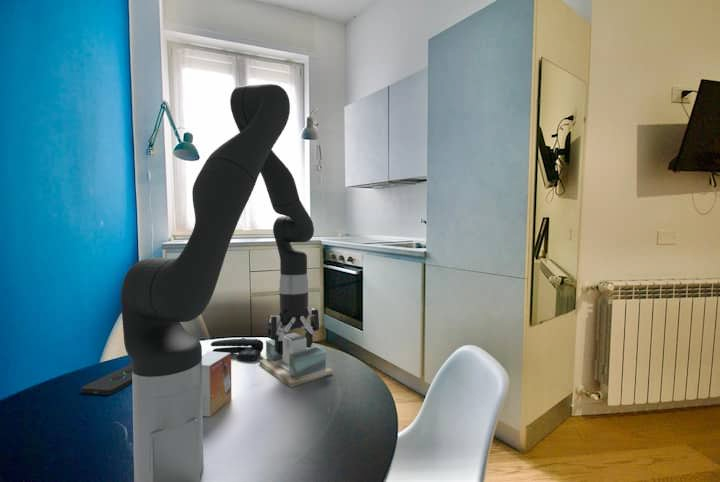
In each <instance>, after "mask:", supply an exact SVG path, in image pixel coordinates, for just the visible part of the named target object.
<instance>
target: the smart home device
mask: <svg viewBox="0 0 720 482" xmlns="http://www.w3.org/2000/svg"><path fill="white" fill-rule="evenodd" d="M130 385H132V363H130V364H128V365H125V366H124V367H122V368H120V369H118V370H115V371H114V372H111V373H109V374H107V375H105V376H104V375H103V376H102V377H100V378H98V379H96V380H94V381H92V382H89V383H88V384H86V385H84V386H82V387H81V394H91V395H92V394H93V395H101V396H103V395H105V396H112V395H113V394H115V393H117V392H119V391H120V390H122V389H125V388H126V387H128V386H130Z"/></svg>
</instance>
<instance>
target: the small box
mask: <svg viewBox="0 0 720 482" xmlns="http://www.w3.org/2000/svg"><path fill="white" fill-rule="evenodd" d="M231 400H232V354H231V353H227V352H214V351H213V350H212V351H211V350H210V351H208V352H206V353H205V354H202V404H203V417H208V418H210V417H212V416H213V415H214V414H215V413H216V412H217V411H219V410H220V409H221V408H222V407H223V406H225V405H226V404H227V403H229V402H231Z"/></svg>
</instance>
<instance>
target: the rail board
mask: <svg viewBox="0 0 720 482" xmlns="http://www.w3.org/2000/svg"><path fill="white" fill-rule="evenodd" d="M265 351H266V352H265V354H266V355H265V357H266V358H264V359H261V360H259V366H261V367H262V368H263V369H264V370H266V371H268V372H269V373H270V374H271V375H273V376H274V377H275V378H277V379H278V380H279V381H281V382H282V383H284V384H285V385H287V386H288V387H290V388H294V387H296V386H299V385H300V386H301V385H303V384H305V383H308V382H309V383H310V382H312V381H315V380H318V379H321V378H324V377H328V376H330V375H332V374H333V369H332V368H330V367H329V366H326V365H327V364H326V361H327V358H326V354H327V353H326V351H325V350H322V349H320V348H318V347H310V348H306V350H304V351H300V352H296V353H292V354H289V365H288V364H286V363H284V362H283V361H282V355H279V354H277V352H275V340H272V339H269V340H266V341H265ZM327 375H328V376H327Z"/></svg>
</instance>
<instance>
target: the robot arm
mask: <svg viewBox="0 0 720 482" xmlns="http://www.w3.org/2000/svg"><path fill="white" fill-rule="evenodd" d="M229 102H230V110H231V111H230V112H231V114H232V117H233V120H234V123H235V125H236V127H237V129H238V131H239V132H238V133H237V134H235V135H234V136H233V137H231V138H230V139H228V140H227V141H225V142H224V143H222V144H221V145H220V146H218V148H216V149H214V151H213V152H211V154H210V155H209V156H208V157H207V159H206V160H205V162H204V164H203V166H202V168H201V169H200V170H199V173H198V174H197V176H196V178H195V181H194V183H193V185H192V195H191V197H192V205H193V210H194V212H193V213H194V227H193V229H192V232H191V234H190V237H189V239H188V241H187V243H186V245H185V247H184V248H183V249H182V251H181V253H180V254H179V256H177V258H175V257H174V258H172V257H150V258H149V257H148V258H144V259H141V260H139V261H137V262H135V263H134V264H133V265H132V266H131V267H130V268H129V269H128V270H127V273H126V275H125V276H124V278H123V281H122V285H121V293H120V306H121V319H122V320H121V321H122V332H123V334H122V335H123V341H124V342H123V343H124V349H125V352H126V354H127V355H128V357H129V359H130V361H131V364H132V384H131V385H132V391H131V392H132V430H133V431H132V435H133V439H132V440H133V441H132V442H133V474H134V475H133V479H134V481H133V482H201V475H202V473H203V471H204V466H205V465H204V423H203V420H204V419H203V418H204V416H203V404H202V356H203V350H202V349H203V348H202V343H201V341H200V340H199V339H198V338H197V337H195V336H193V335H192V334H191V333H189V331H187V330H186V329H185V327H184V326H183V324H182V323H187V322H191V321H194V320H195V319H197V318H199V316H201V314H202V313H204V311H205V310H206V308H207V306H208V305H209V303H210V301H211V299H212V298H213V294H214V292H215V290H216V287H217V283H218V280H219V277H220V273H221V271H222V268H223V264H224V262H225V258H226V256H227V255H226V254H227V253H228V249H229V246H230V243H231V241H232V237H233V235H234V233H235V231H236V228H237V226H238V223H239V221H240V218H241V217H242V214H243V212H244V210H245V208H246V206H247V204H248V203H249V202H248V201H249V199H250V198H251V195H252V193H253V191H254V189H255V186H256V182H257V180H258V178H259V176H260V175H261V177H262V179H263V182H264V185H265V188H266V191H267V194H268V197H269V200H270V203H271V206H272V210H273V211H274V212H275V213H276V214H279V215H281V216H278V217H277V218H276V219H275V221H274V223H273V226H272V232H273V233H272V234H273V237H274V240H275V243H276V247H277V251H278V254H279V261H280V264H279V265H280V269H279V270H280V272H279V273H280V278H279V287H278V288H279V289H278V290H279V309H280V310H279V311H280V312H279V314H278V315H273V314H269V315H268V316H267V319H268V320H267V338H268V339H269V340H275V352H277V354H279V355H282V354H283V341H282V339H283V337H284V336H285V335H286V334H288V333H289V331H291V330H295V329H301V328H303V330H304V331H305V333H304V337H305V338H306V349H311V348H312V345H313V343H314V341H313V338H314V336H313V334H314V333H315V332H316V331H319V330H320V322H319V321H320V319H319V310H318V309H316V308H313V307H311V308H309V279H308V255H307V254H306V253H305V252H304V251H300V250H297V249H294V248H293V246H292V244H291V243H307V242H309V241H311V239H312V238H313V237H314V233H315V226H314V223H313V221H312V218H311V217H310V215H309V213H308V212H307V210H306V208H305V206H304V205H303V203H302V202H301V200H300V195H299V191H298V189H297V183H296V181H295V178H294V176H293V174H292V172H291V171H290V169H289V168H288V166H286V165H285V163H284V162H283V161H282V159H280V158H279V156H277V154H276V153H275V152H274V150H273V148H274V146H275V145H276V143H277V142H278V140H279V138H280V137H281V135H282V133H283V131H284V130H285V128H286V126H287V124H288V120H289V117H290V113H291V112H290V110H291V103H290V98H289V95H288V92H287V91H286V90H285V88H283V87H282V86H280V85H278V84H275V83H261V84H260V83H258V84H248V85H240V86H236V87H235V88H234V89H233V91H232V92H231V95H230V100H229ZM308 308H309V309H308ZM308 317H310V318H309V319H310V323H309V322H308V321H307V319H308ZM279 322H280V324H279ZM277 324H279V325H278V328H277Z"/></svg>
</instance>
